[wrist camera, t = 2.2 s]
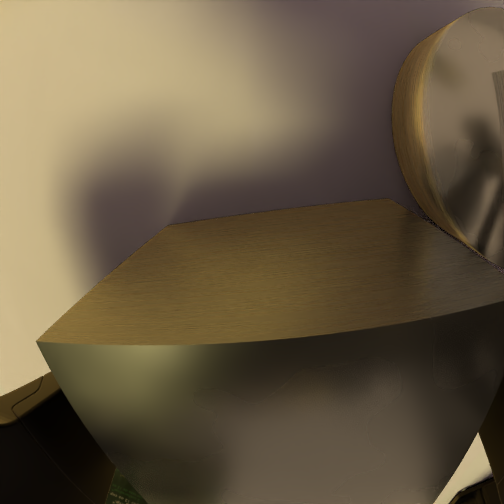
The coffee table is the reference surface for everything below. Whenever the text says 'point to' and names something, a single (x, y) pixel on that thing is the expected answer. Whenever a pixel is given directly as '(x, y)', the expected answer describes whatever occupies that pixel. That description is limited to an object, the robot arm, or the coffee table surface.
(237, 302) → the brushed metal cube
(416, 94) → the ratchet
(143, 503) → the coffee jar
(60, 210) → the coffee table surface
